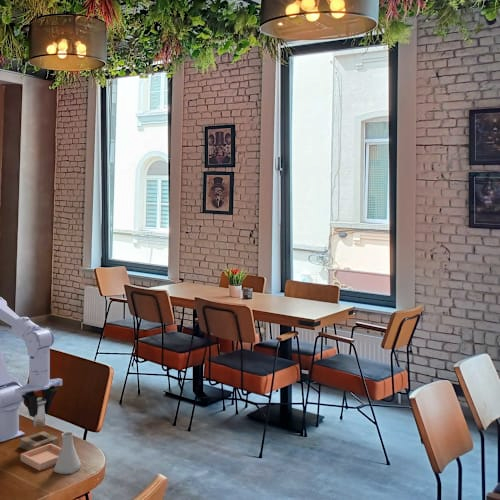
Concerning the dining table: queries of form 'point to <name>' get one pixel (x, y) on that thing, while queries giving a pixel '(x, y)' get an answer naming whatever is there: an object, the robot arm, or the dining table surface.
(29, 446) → the brown square frame
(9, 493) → the dining table surface
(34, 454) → the tray
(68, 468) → the flask
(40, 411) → the pin
